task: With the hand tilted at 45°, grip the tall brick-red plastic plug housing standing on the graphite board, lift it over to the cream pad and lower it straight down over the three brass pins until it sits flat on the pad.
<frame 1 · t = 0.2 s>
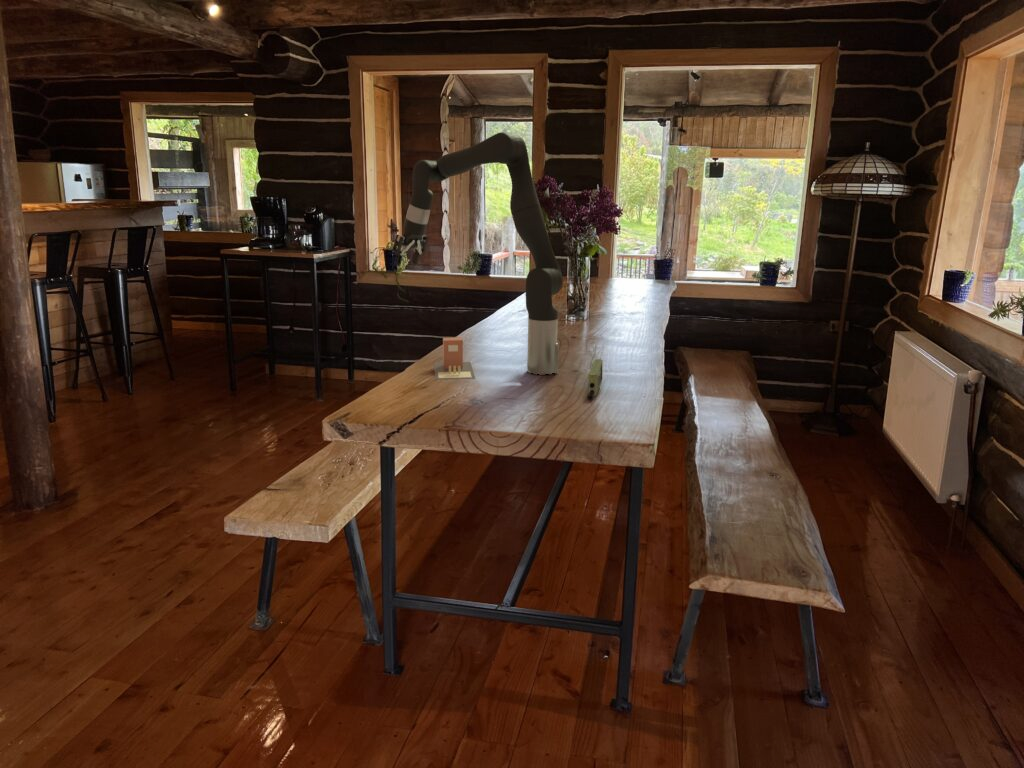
hand: (405, 264, 253), 31 cm above the table, tool tilted 20°, fingers open, 8 cm apart
pin board: (453, 373, 229), on the table
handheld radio: (594, 390, 213), on the table
plug housing: (452, 366, 233), point 1 cm above the table, touching pin board
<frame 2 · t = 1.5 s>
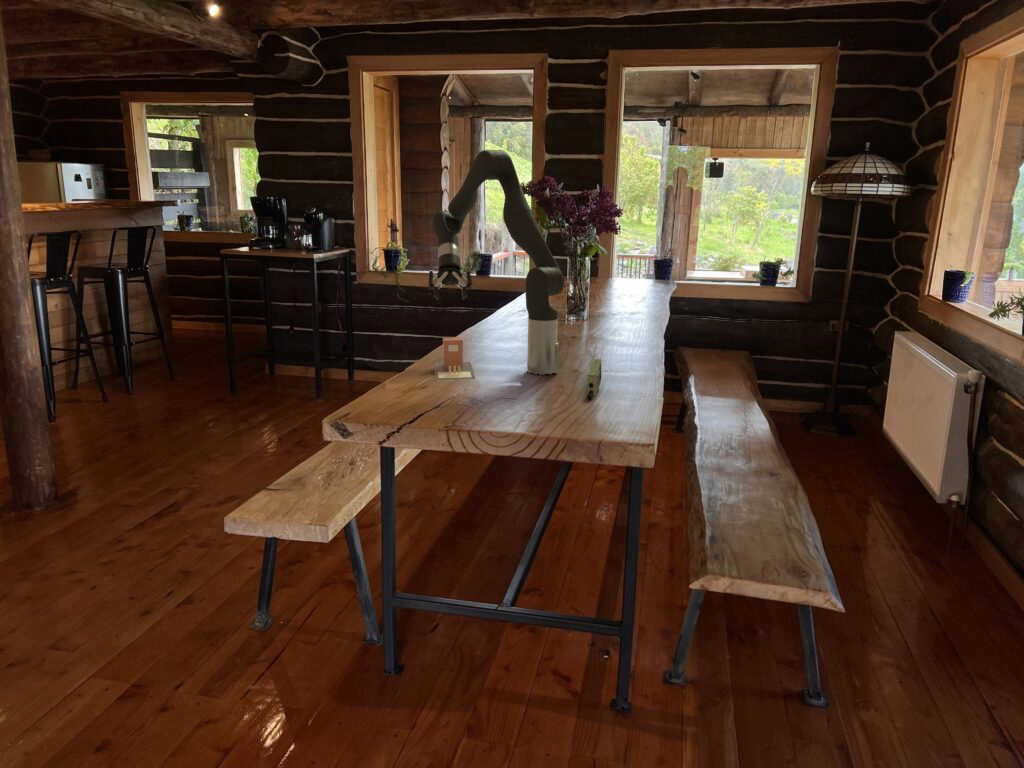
hand: (450, 298, 239), 21 cm above the table, tool tilted 45°, fingers open, 8 cm apart
nothing on the table moved.
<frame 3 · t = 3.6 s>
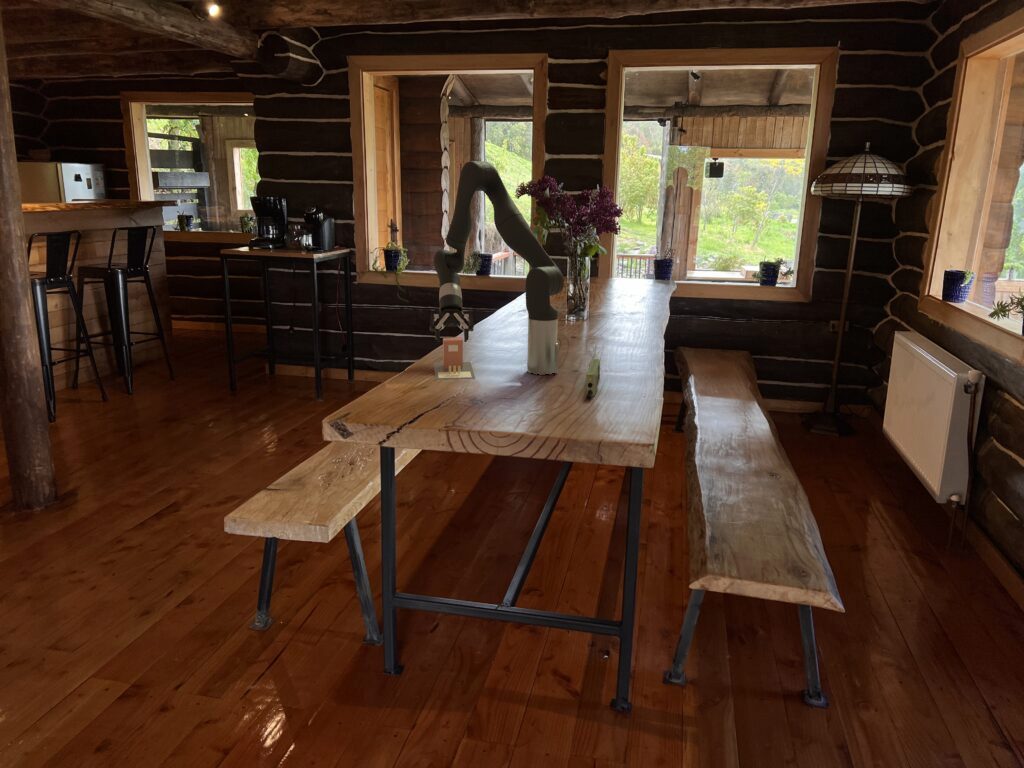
hand: (452, 340, 234), 9 cm above the table, tool tilted 45°, fingers open, 8 cm apart
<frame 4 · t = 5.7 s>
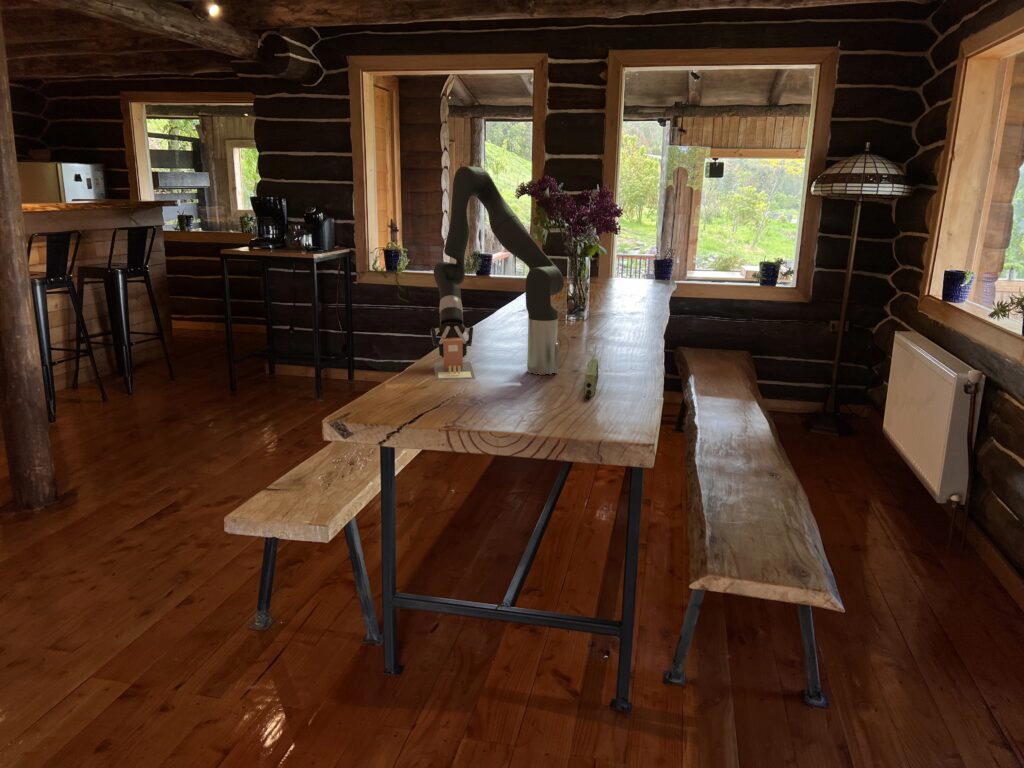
hand: (453, 355, 231), 5 cm above the table, tool tilted 45°, fingers closed on plug housing, 6 cm apart
plug housing: (452, 366, 233), point 1 cm above the table, touching gripper, pin board
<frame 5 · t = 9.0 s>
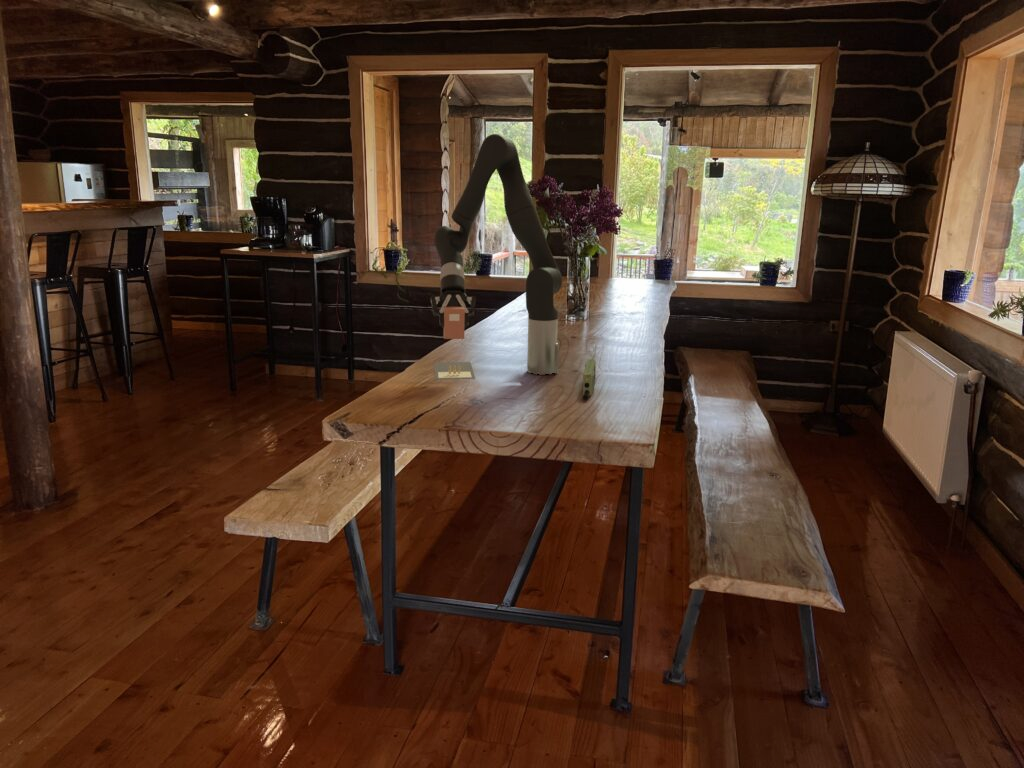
hand: (454, 325, 217), 17 cm above the table, tool tilted 45°, fingers closed on plug housing, 6 cm apart
plug housing: (453, 337, 220), point 13 cm above the table, touching gripper
when the fingers open (5 cm above the table, at t = 12.4 s): plug housing stays where it is, resting on pin board.
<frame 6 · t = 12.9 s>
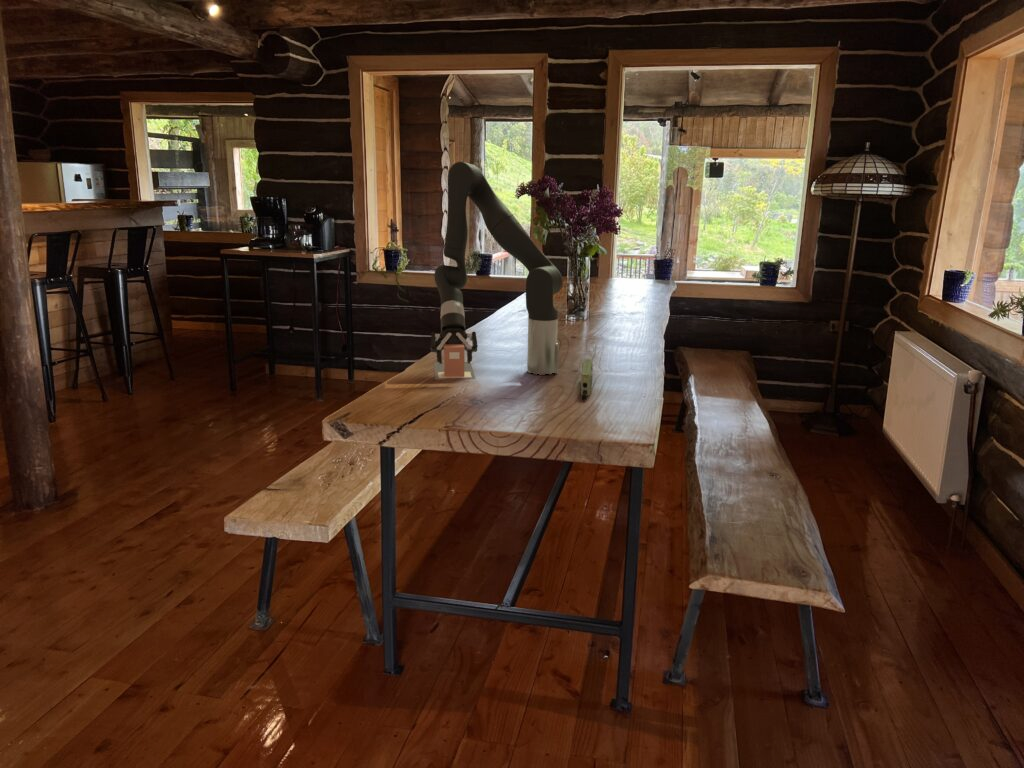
hand: (454, 362, 220), 5 cm above the table, tool tilted 45°, fingers open, 8 cm apart
plug housing: (454, 374, 223), point 1 cm above the table, touching pin board
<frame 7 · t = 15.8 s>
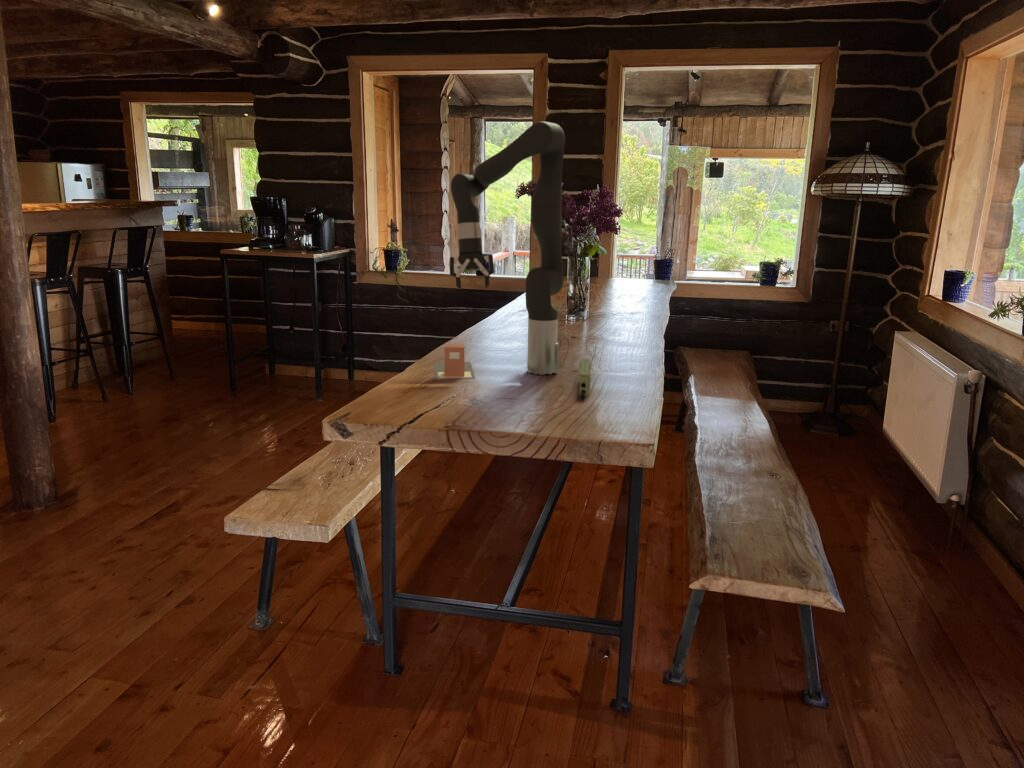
hand: (473, 288, 236), 25 cm above the table, tool pointing down, fingers open, 8 cm apart
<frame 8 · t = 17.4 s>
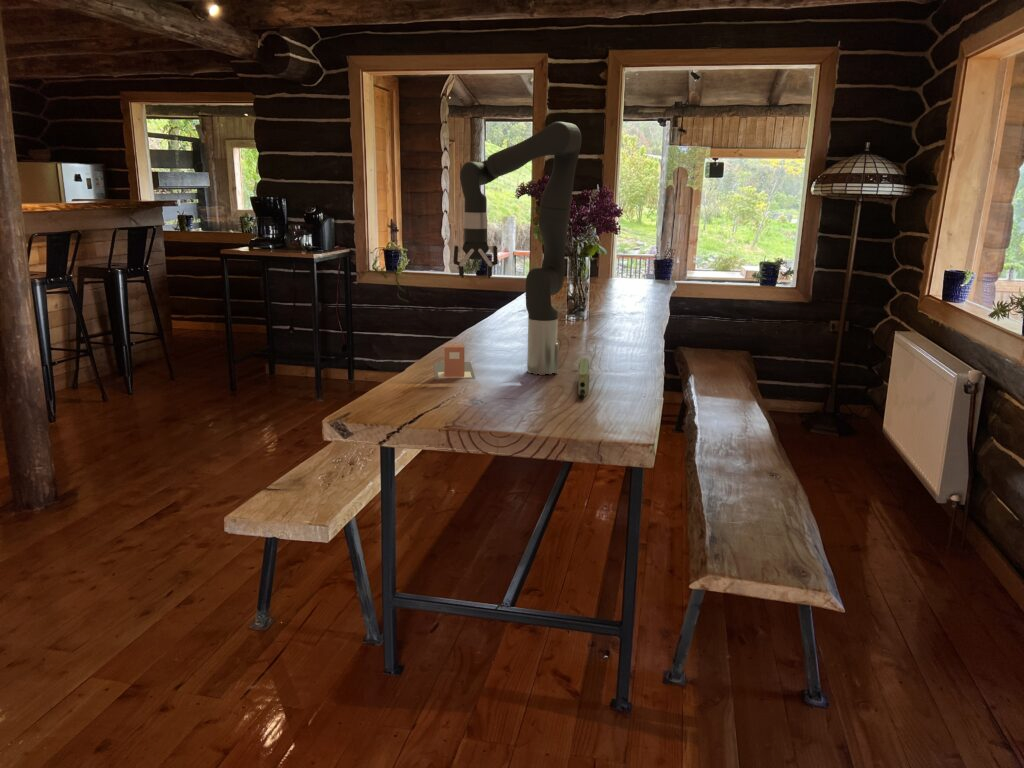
hand: (475, 277, 237), 28 cm above the table, tool pointing down, fingers open, 8 cm apart
at the end: plug housing 0.1 cm from the target spot on the pin board, point 1.1 cm above the pin board's base; plug housing tilted 0°; the gripper is holding nothing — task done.
